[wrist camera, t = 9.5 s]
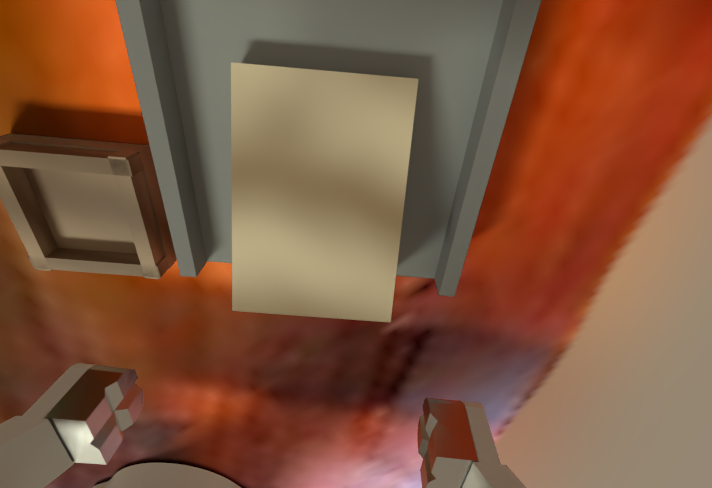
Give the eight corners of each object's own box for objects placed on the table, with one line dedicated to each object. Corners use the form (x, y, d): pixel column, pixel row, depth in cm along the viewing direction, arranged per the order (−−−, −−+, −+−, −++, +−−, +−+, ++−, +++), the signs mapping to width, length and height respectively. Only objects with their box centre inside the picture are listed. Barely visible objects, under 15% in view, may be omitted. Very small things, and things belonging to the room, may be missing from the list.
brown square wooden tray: (177, 259, 21) (161, 279, 20) (61, 250, 21) (34, 269, 20) (150, 145, 18) (127, 157, 16) (9, 133, 18) (-29, 145, 16)
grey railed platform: (442, 259, 21) (454, 296, 18) (206, 240, 21) (180, 275, 18) (517, -40, 14) (558, -57, 11) (151, -75, 13) (91, -102, 10)
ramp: (385, 274, 19) (389, 328, 16) (257, 264, 19) (233, 317, 16) (415, 75, 14) (431, 92, 10) (238, 59, 14) (196, 71, 10)
